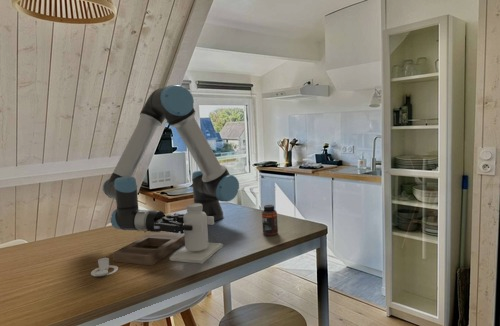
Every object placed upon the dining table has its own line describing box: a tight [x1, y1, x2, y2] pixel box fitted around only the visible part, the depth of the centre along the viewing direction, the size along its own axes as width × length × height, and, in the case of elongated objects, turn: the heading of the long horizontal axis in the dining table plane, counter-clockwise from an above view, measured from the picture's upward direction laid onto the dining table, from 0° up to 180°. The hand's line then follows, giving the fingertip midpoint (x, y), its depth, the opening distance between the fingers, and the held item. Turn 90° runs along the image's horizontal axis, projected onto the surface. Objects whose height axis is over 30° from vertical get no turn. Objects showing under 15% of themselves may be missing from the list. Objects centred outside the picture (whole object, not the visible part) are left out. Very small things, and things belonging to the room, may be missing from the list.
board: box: [169, 241, 224, 264], centre depth 120 cm, size 16×12×1 cm
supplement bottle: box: [261, 204, 279, 237], centre depth 136 cm, size 6×6×11 cm
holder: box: [112, 232, 185, 266], centre depth 123 cm, size 22×15×3 cm
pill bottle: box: [183, 202, 209, 251], centre depth 118 cm, size 8×8×15 cm
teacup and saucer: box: [90, 257, 119, 277], centre depth 108 cm, size 9×8×4 cm
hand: (208, 224), depth 117 cm, fingers closed on pill bottle, 8 cm apart
